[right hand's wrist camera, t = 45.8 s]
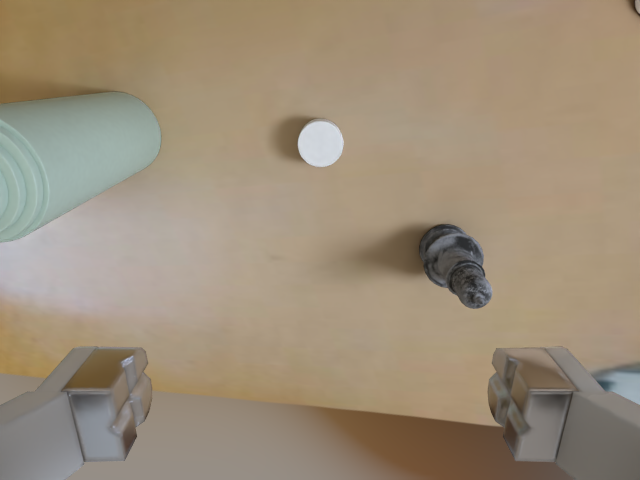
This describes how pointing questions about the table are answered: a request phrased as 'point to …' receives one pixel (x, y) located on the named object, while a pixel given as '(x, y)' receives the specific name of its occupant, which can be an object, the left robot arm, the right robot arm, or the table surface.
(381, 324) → the table surface
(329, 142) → the cap
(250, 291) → the table surface
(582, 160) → the table surface
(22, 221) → the bottle
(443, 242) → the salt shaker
